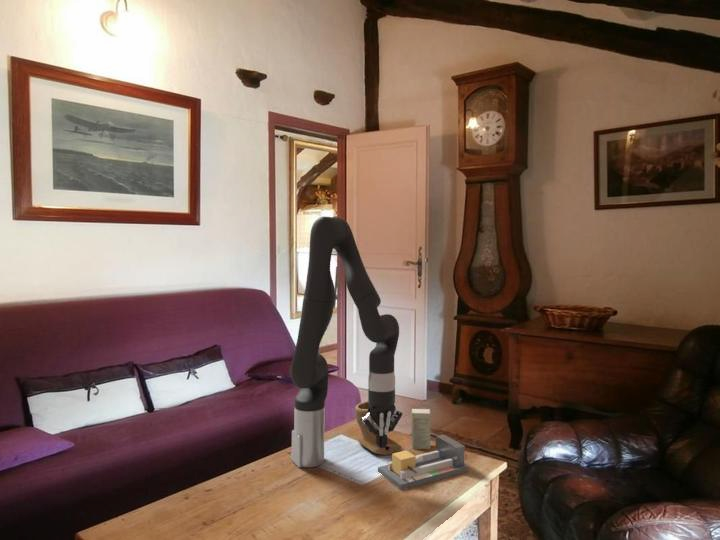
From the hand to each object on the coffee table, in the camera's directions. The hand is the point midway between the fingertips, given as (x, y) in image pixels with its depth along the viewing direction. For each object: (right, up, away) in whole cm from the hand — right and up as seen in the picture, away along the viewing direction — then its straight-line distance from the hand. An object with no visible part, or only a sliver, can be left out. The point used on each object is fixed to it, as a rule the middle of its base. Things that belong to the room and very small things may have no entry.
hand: (381, 447), depth 147 cm
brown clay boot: (-1, -9, +24) cm, 26 cm away
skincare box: (+14, -9, +26) cm, 31 cm away
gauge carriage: (+9, -9, +4) cm, 13 cm away
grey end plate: (+21, -8, +13) cm, 26 cm away
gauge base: (+13, -10, +8) cm, 18 cm away
